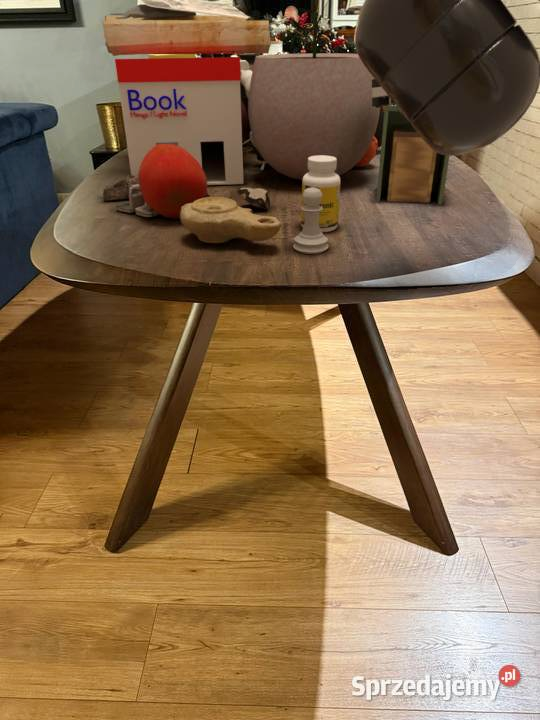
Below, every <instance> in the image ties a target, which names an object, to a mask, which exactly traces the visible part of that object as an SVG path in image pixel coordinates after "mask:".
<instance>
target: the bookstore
mask: <svg viewBox="0 0 540 720" xmlns="http://www.w3.org/2000/svg"><path fill="white" fill-rule="evenodd" d="M240 60H241V59H240V57H238V56H236V57H235V56H234V57H233V56H229V57H225V56H224V57H223V56H221V57H214V58H205V57H195V58H151V59H149V58H114V62H115V69H116V77H117V84H118V90H119V98H120V105H121V112H122V119H123V127H124V133H125V141H126V148H127V155H128V161H129V162H128V163H129V169H130V175H133V176H136V175H138V171H139V168H140V165H141V162H142V160H143V158H144V157H145V155H146V154H147V153H148V151H149V150H150V149H152V148H153V147H154V146H156V145H159V144H174V145H176V146H179V147H182V148H183V149H185V150H187V151H188V152H189V153H190V154H191V155H192V156H193V157H194V158H195V159H196V160H197V161H198V162H199V164H200V166H201V168H202V169H203V171H204V173H205V175H206V178H207V186H217V185H218V186H219V185H221V186H223V185H244V183H245V182H244V158H243V145H242V144H243V140H242V125H241V96H240V80H241V69H240Z"/></svg>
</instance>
